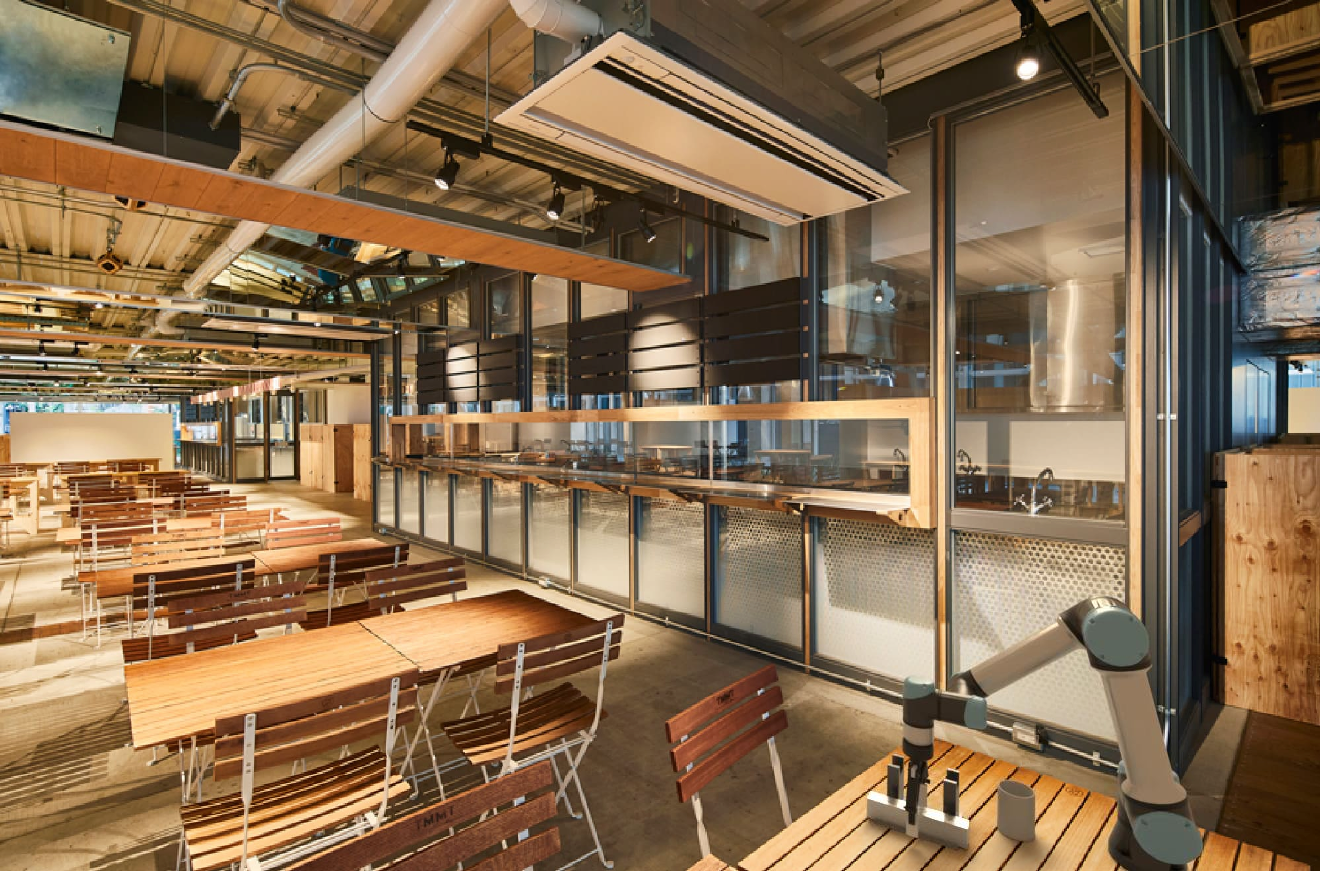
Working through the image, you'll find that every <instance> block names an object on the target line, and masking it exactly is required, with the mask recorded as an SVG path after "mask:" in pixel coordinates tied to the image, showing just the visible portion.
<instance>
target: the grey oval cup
mask: <svg viewBox="0 0 1320 871" xmlns="http://www.w3.org/2000/svg"><path fill="white" fill-rule="evenodd" d="M996 808H997V812H996V814H997V817H996V826H997V829H998V831H999V832H1000V833H1001V834H1002V835H1004V836H1006V837H1007V838H1010V839H1012V840H1015V841H1018V842H1019V841H1020V842H1030V841H1032V840H1034V838H1035V836H1036V791H1034V789H1033V788H1031V787H1030V786H1029V785H1027V784H1026V783H1023V782H1020V781H1018V780H1012V779H1011V780H1010V779H1002V780H1000V781H999V782H998V784H997V806H996Z"/></svg>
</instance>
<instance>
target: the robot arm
mask: <svg viewBox="0 0 1320 871" xmlns="http://www.w3.org/2000/svg"><path fill="white" fill-rule="evenodd" d="M1056 618H1057V619H1056V621H1054V622H1052V623H1050V624H1049V625H1047V626H1045V627H1044V628H1041V629H1039V630H1038V631H1036V632H1035V633H1032V634H1031V635H1029V636H1027V637H1026V638H1024V639H1021V640H1020V641H1018V642H1016V643H1015V644H1013V645H1011V646H1008V647H1007V648H1006V649H1004V650H1002V651H1000V652H999V653H996V654H995V655H993V656H991V657H990V658H987V659H986V660H984V661H983V662H981V663H979V664H977V665H974V667H972V668H970V669H968V670H965V671H957V672H954V673H953V674H952V675H951V676H950V678H949V680H948V682H947V685H946V686H947V688H946V690H943V689H938V688H936V686H935V682H934V681H933V680H932V679H931V678H928V677H925V676H923V675H909V676H907V677H905V679H903V686H902V687H903V688H902V722H901V721H900V727H902V739H901V741H902V742H901V744H902V745H901V748H902V749H901V750H902V753H903V754H904V755H905V756H906V757H908V758H909V761H908V764H907V782H906V783H907V784H906V793H905V796H906V803H905V806H903V809H905V811H906V833H905V834H906V835H907V836H909V837H912V838H916V839H919V838H918V814H919V810H918V805H919V806H922V807H926V808H928V785H930V784H931V779H930V778H929V776H930V774H929V766H928V761H930V760H932V759H933V758H934V755H935V750H934V748H935V743H934V742H935V721H937V722H941V723H946V724H951V725H956V726H960V727H963V728H964V727H965V728H968V729H975V730H985V729H986V728H987V727H988V726H987V725H988V702H987V698H988V697H990V696H992V695H993V694H995V693H997V692H999V691H1001V690H1003V689H1005V688H1007V687H1008V686H1011V685H1013V684H1014V683H1017V682H1018V681H1020V680H1023V679H1024V678H1026V677H1027V676H1030V675H1031V674H1033V673H1035V672H1037V671H1039V670H1041V669H1042V668H1045V667H1047V666H1049V665H1051V664H1052V663H1054V662H1056V661H1058V660H1060V659H1062V658H1064V657H1066V656H1067V655H1069V654H1071V653H1073V652H1075V651H1077V650H1079V649H1081V650H1085V651H1086V654H1087V657H1088V661H1089V664H1090V665H1089V666H1090V667H1091V668H1092V669H1093V670H1094V671H1096V672H1098V673H1099V674H1100V677H1101V678H1100V679H1101V682H1102V686H1103V689H1104V693H1105V697H1106V700H1107V706H1108V709H1109V712H1110V717H1111V722H1112V725H1113V729H1114V733H1115V736H1116V741H1117V744H1118V749H1119V753H1120V755H1121V756H1120V757H1121V760H1120V761H1119V762H1118V767H1117V770H1116V773H1117V811H1116V812H1117V815H1116V816H1117V817H1116V818H1117V819H1116V821H1115V824H1114V826H1113V827H1112V829H1111V832H1110V834H1109V837H1108V840H1107V850H1108V853H1109V855H1110V856H1111V858H1112V859H1113V860H1114V861H1115V862H1117V863H1118V864H1119V865H1120V866H1121V867H1123V868H1125V869H1126V870H1128V871H1188V870H1189V867H1188V864H1189V863H1192V862H1193V861H1195V860H1196V859H1197V858H1198V857H1199V856H1200V855H1201V853H1202V851H1203V848H1204V847H1203V846H1204V842H1203V837H1202V832H1201V831H1200V829H1199V828H1198V826H1197V825H1196V823H1195V820H1194V819H1195V818H1194V815H1193V812H1192V809H1191V806H1190V801H1189V798H1188V794H1187V791H1186V789H1185V788H1184V786H1182V785H1181V783H1180V777H1179V775H1178V774H1177V773H1176V772H1175V771H1174V770H1172V769H1173V768H1172V766H1171V761H1170V758H1169V756H1168V754H1169V753H1168V751H1167V747H1166V744H1165V741H1164V736H1163V731H1162V728H1161V724H1160V721H1159V717H1158V714H1157V709H1156V705H1155V702H1154V698H1153V693H1152V690H1151V687H1150V682H1149V679H1148V675H1147V672H1148V671H1149V670H1150V669H1151V668H1152V667H1153V662H1152V658H1151V655H1150V651H1149V650H1150V649H1149V645H1150V636H1149V633H1148V631H1147V628H1146V626H1145V625H1144V623H1143V622H1142V621H1141V620H1140V619H1139V617H1137V615H1136V614H1134V612H1132V609H1130V608H1129V606H1128V605H1127V604H1125V603H1124V602H1122V601H1121V600H1119V599H1117V598H1115V597H1113V596H1109V595H1095V596H1094V595H1093V596H1090V597H1087V598H1085V599H1083V600H1081V601H1079V602H1077V603H1076V604H1074V605H1072V606H1071V607H1069V608H1068V609H1066V610H1064V611H1062V612H1060V613H1059V614H1058V615H1057V617H1056ZM906 835H905V836H906Z"/></svg>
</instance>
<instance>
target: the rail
mask: <svg viewBox="0 0 1320 871" xmlns="http://www.w3.org/2000/svg"><path fill="white" fill-rule="evenodd" d="M905 803H906V801H902V800H899V799H896V798H892V797H889V796H887V795H885V794H882V793H878V792H875V791H871V790H870V792H869V794H868V795H867V798H866V818H868V819H872V820H873V821H875V820H877V821H880V822H884V823H887V824H890V825H893V826H896V827H899V828H902V829H905V830H906V811H905V809H903V806H905ZM918 810H919V814H918V834H921V835H924V836H927V837H930V838H933V839H937V840H940V841H943V842H946V843H949V844H952V845H955V846H958V847H959V848H962V849H965V850H968V849H969V848H968V847H969V841H970V820H969V819H965V818H964V817H963V818H959V817H956V816H952V815H949V814H946V813H942V811H938V810H935V809H932V808H929V807H927V808H926V807H922V806H919V805H918Z"/></svg>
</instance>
